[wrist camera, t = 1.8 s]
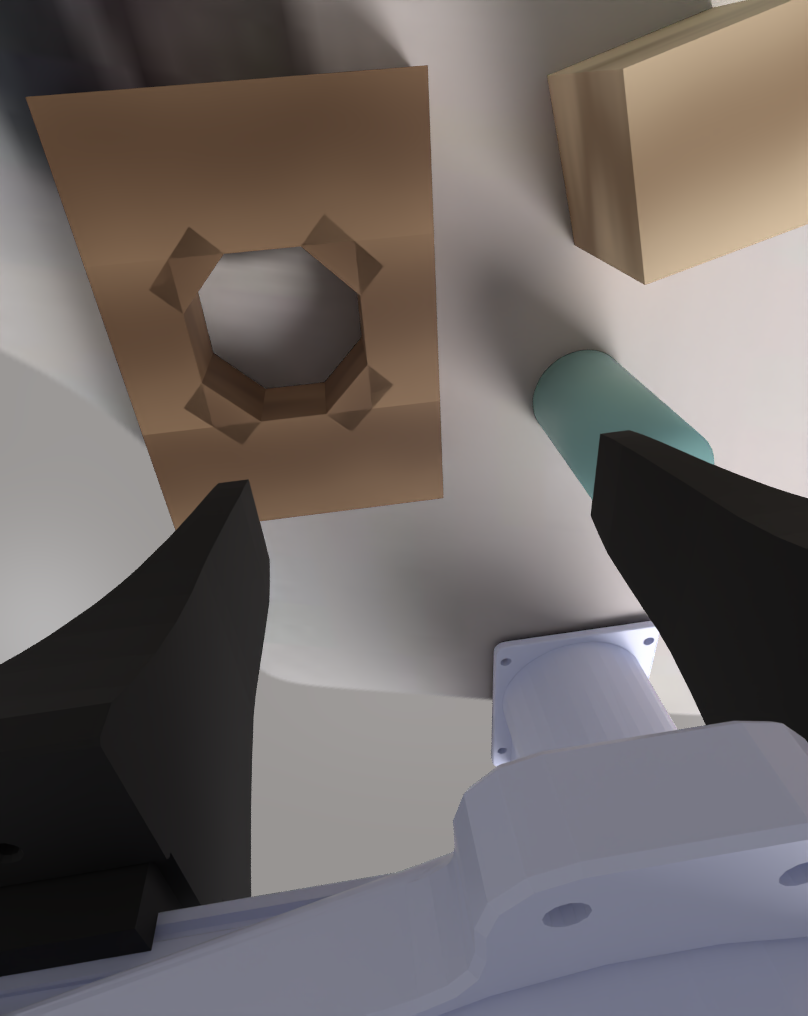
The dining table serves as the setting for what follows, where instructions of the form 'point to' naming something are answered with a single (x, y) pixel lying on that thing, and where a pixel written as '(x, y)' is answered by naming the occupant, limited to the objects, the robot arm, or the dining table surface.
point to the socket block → (250, 227)
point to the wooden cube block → (688, 138)
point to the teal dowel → (604, 411)
